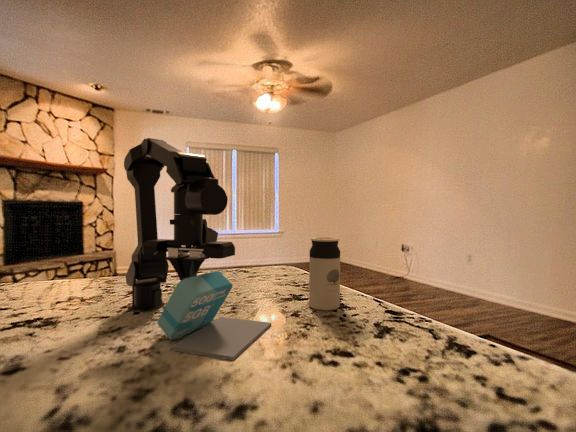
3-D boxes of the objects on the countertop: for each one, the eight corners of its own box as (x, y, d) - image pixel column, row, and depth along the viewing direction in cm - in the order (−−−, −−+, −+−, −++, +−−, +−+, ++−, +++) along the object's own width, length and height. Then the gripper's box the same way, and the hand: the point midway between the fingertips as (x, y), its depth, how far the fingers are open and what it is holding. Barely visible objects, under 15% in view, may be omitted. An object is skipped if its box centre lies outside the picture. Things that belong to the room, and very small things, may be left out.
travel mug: (304, 303, 91) (305, 237, 91) (331, 301, 94) (332, 236, 93) (316, 312, 84) (316, 239, 83) (345, 309, 86) (345, 239, 86)
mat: (170, 350, 61) (170, 346, 61) (220, 319, 78) (220, 316, 78) (233, 360, 57) (233, 356, 57) (271, 325, 74) (271, 322, 74)
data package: (167, 343, 64) (194, 295, 61) (154, 326, 66) (179, 279, 62) (210, 324, 75) (235, 282, 71) (198, 310, 76) (221, 269, 73)
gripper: (246, 214, 74) (246, 285, 75) (174, 213, 80) (174, 279, 80) (221, 215, 64) (221, 297, 64) (140, 214, 70) (140, 289, 70)
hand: (188, 290), depth 70 cm, fingers closed
